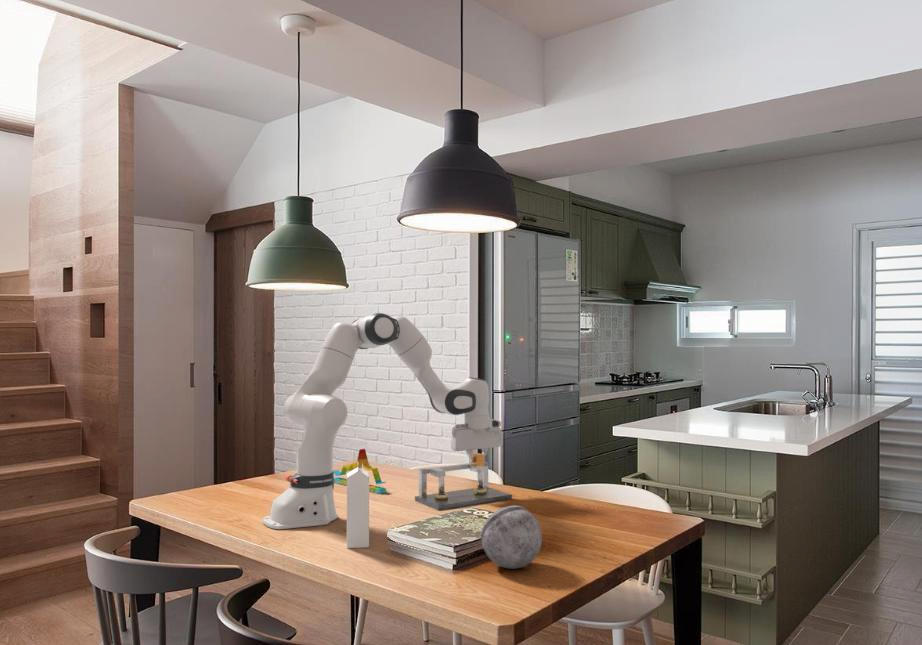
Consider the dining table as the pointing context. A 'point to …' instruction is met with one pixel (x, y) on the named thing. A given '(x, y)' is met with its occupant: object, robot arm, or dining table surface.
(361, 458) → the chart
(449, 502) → the plate
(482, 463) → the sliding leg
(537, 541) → the decorative orb
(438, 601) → the dining table surface
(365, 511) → the milk
